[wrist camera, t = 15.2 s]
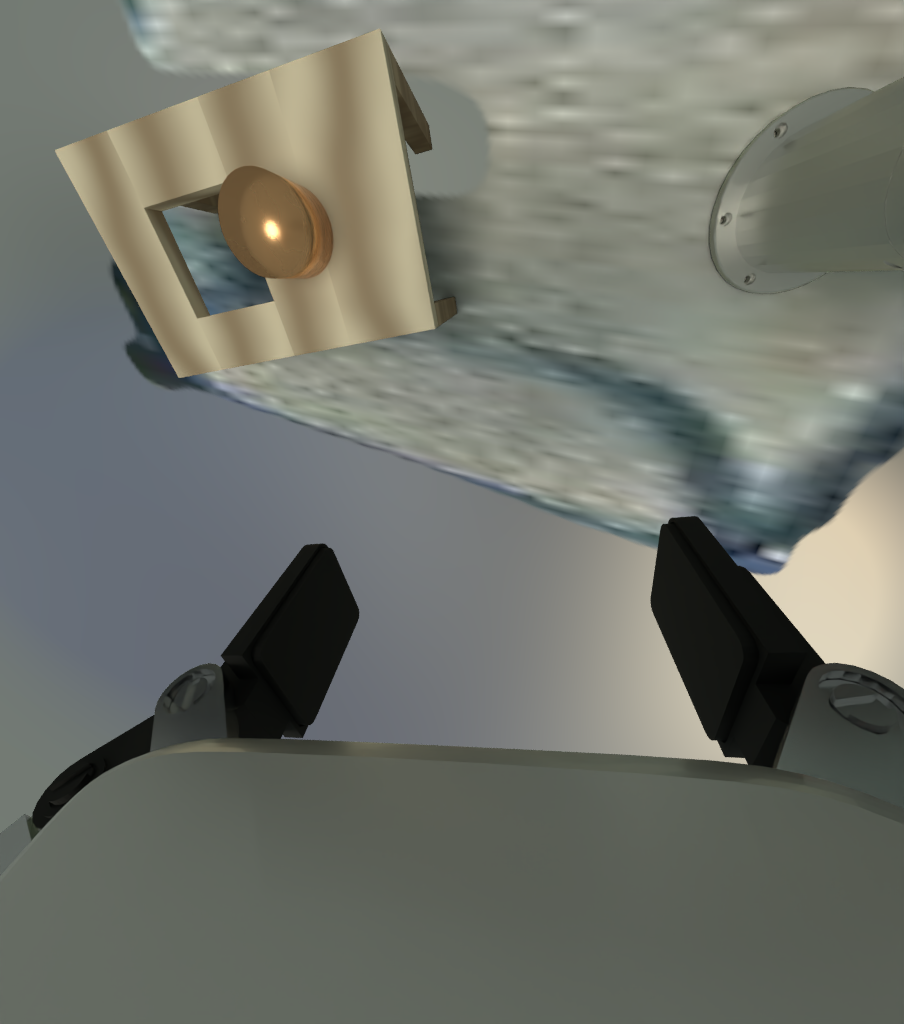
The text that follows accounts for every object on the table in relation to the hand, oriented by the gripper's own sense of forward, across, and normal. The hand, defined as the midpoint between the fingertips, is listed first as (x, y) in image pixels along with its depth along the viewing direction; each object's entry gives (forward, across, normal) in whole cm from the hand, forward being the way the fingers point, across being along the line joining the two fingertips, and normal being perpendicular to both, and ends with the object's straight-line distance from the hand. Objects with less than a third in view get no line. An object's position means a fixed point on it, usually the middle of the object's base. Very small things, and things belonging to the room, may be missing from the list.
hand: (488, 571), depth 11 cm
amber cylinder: (+30, +12, -12) cm, 35 cm away
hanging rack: (+34, +15, -12) cm, 39 cm away
